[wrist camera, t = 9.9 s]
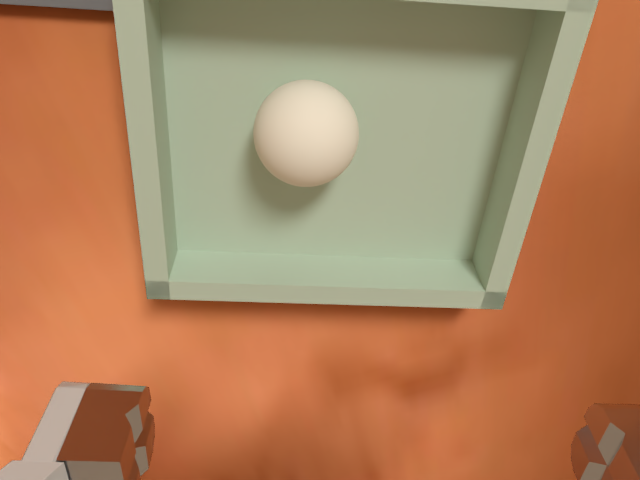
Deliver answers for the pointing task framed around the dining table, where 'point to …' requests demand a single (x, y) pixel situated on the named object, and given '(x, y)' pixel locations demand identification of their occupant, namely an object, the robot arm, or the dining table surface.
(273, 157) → the ball
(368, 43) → the tray
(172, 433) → the dining table surface
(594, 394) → the dining table surface
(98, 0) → the coaster
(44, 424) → the robot arm
